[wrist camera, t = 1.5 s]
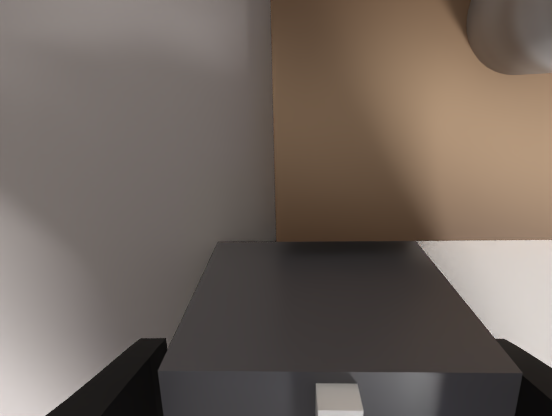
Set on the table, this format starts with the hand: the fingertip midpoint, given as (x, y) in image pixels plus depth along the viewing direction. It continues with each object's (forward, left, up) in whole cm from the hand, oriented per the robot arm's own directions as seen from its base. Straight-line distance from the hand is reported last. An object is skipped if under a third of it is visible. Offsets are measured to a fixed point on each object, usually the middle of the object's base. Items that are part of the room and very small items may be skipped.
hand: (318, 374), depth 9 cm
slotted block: (0, 0, -2) cm, 2 cm away
